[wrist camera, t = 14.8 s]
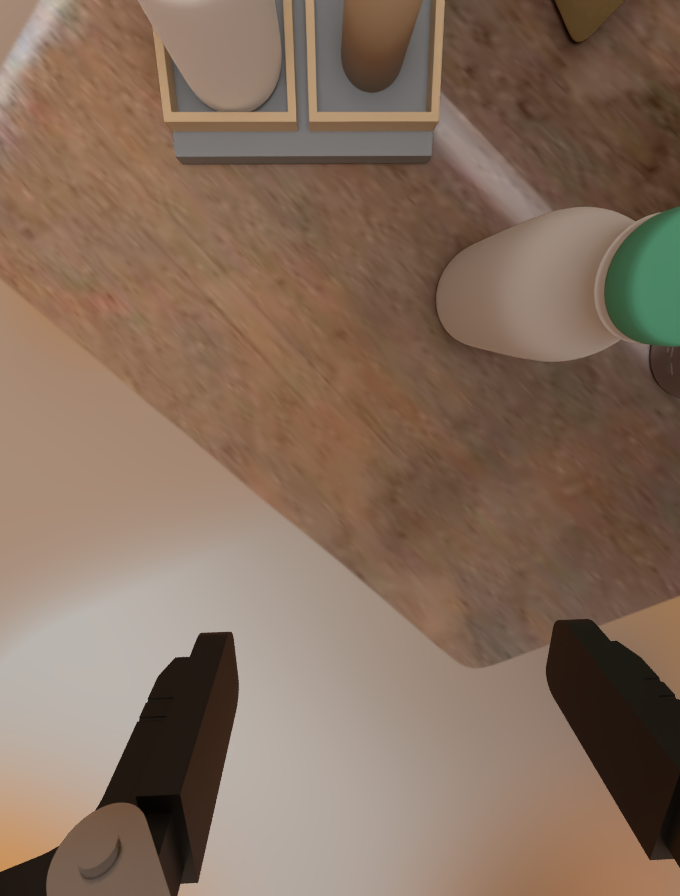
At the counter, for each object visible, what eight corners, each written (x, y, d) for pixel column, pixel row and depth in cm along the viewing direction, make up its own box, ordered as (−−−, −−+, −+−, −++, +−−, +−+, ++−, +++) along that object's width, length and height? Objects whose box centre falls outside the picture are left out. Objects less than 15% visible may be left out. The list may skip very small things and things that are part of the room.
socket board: (435, -41, 26) (494, -227, 17) (426, 163, 30) (471, 98, 21) (159, -44, 26) (69, -237, 17) (183, 164, 29) (119, 98, 20)
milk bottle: (434, 350, 34) (575, 402, 15) (432, 246, 31) (599, 148, 12) (528, 342, 34) (788, 382, 15) (534, 237, 31) (855, 126, 12)
